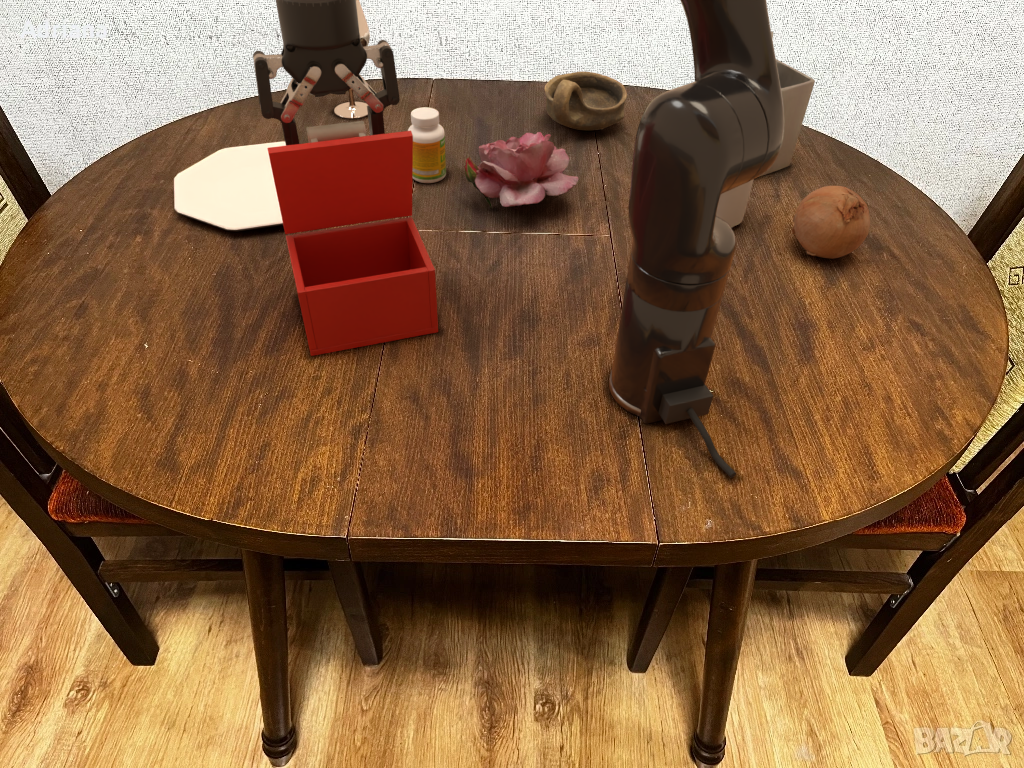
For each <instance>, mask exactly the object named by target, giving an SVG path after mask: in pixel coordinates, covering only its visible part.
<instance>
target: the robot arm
mask: <svg viewBox="0 0 1024 768" xmlns="http://www.w3.org/2000/svg"><path fill="white" fill-rule="evenodd" d="M679 1H680V3H681V5H682V8H683V11H684V15H685V18H686V22H687V26H688V31H689V36H690V43H691V50H692V58H693V71H694V73H693V74H694V81H692V82H690V83H687V84H682V85H680V86H677V87H674V88H672V89H669V90H667V91H664V92H662V93H660V94H658V95H657V96H656V97H654V98H653V99H652V100H651V101H650V102H649V103H648V105H646V108H645V110H644V111H643V114H642V115H641V117H640V120H639V123H638V127H637V129H636V130H637V131H636V134H635V140H634V146H633V154H632V165H631V177H630V187H629V199H628V222H629V223H628V224H629V229H630V232H631V238H632V242H631V249H630V255H629V262H628V269H627V274H626V281H625V285H624V292H623V300H622V304H621V311H620V318H619V323H618V330H617V335H616V342H615V348H614V354H613V360H612V361H613V362H612V367H611V371H610V374H609V380H608V388H609V392H610V394H611V396H612V398H613V400H614V401H615V402H616V403H617V404H618V405H619V406H620V407H621V408H623V409H624V410H625V411H627V412H629V413H630V414H633V415H635V416H638V417H639V418H640V419H641V420H642V422H643V423H644V424H652V423H657V422H660V421H663V422H664V424H665V425H668V424H673V423H676V422H680V421H685V420H689V419H690V420H691V421H692V424H693V425H694V427H695V428H696V429H697V431H698V432H699V435H700V436H701V438H702V440H703V442H704V443H705V447H706V448H707V450H708V453H709V455H710V456H711V458H712V459H713V461H714V462H715V463H716V465H717V466H718V467H720V469H721V470H722V471H723V472H724V473H725V474H726V475H727V476H728V477H729V478H730V479H733V478H734V477H735V476H736V475H737V472H736V471H735V470H734V469H733V468H732V467H731V466H730V465H729V464H728V463H727V462H726V461H725V460H724V459H723V458H722V456H721V455H720V454H719V452H718V450H717V448H716V447H715V444H714V442H713V440H712V438H711V435H710V434H709V432H708V430H707V428H706V427H705V425H704V424H703V422H702V421H701V419H700V418H699V417H702V416H706V415H709V413H710V409H711V407H712V404H713V399H714V394H713V393H712V392H711V391H710V389H709V388H708V386H707V384H706V382H707V378H708V376H709V375H708V374H709V372H710V367H711V364H712V360H713V357H714V353H715V349H716V346H717V345H716V342H715V341H714V340H713V339H712V337H713V333H714V329H715V326H716V323H717V319H718V315H719V311H720V307H721V304H722V299H723V296H724V292H725V290H726V286H727V283H728V278H729V275H730V272H731V268H732V264H733V260H734V257H735V253H736V247H737V237H736V234H735V232H734V230H733V227H732V228H731V227H730V226H729V225H728V223H726V222H725V221H724V220H723V219H721V218H720V217H718V216H716V212H717V207H718V203H719V199H720V195H721V194H723V193H725V192H727V191H729V190H731V189H734V188H736V187H738V186H740V185H742V184H745V183H747V182H749V181H751V180H753V179H754V180H756V179H757V178H759V177H761V176H760V175H762V174H763V173H764V172H766V171H767V170H768V169H769V168H770V167H771V166H772V165H773V163H774V162H775V160H776V158H777V156H778V154H779V152H780V149H781V146H782V142H783V135H784V109H783V100H782V92H781V86H780V80H779V74H778V69H777V63H776V59H777V58H776V52H775V46H774V41H773V39H772V34H771V32H772V29H771V24H770V23H771V22H770V17H769V10H768V4H767V3H768V2H767V0H679ZM275 4H276V5H275V6H276V11H277V16H278V22H279V27H280V33H281V39H282V50H281V53H280V54H265V53H264V52H263V51H262V50H256V51H254V52H253V53H252V54H253V55H252V60H253V61H252V62H253V68H254V74H255V81H256V88H257V95H258V103H259V107H260V108H259V109H260V113H261V116H262V117H263V118H264V119H266V120H270V119H274V120H278V121H279V122H280V124H281V129H282V132H283V133H282V134H283V139H284V142H285V143H286V146H287V145H295V144H300V140H299V132H298V128H297V123H296V119H295V117H296V114H297V113H298V112H299V109H300V108H301V107H303V105H304V104H305V103H306V101H307V99H308V97H309V95H311V96H314V97H315V98H321V97H326V96H328V95H335V96H340V95H347V94H346V93H347V92H348V90H350V89H352V90H353V93H354V94H356V96H358V98H360V99H361V101H364V103H366V104H367V105H368V106H367V111H368V116H367V121H368V130H369V136H370V135H378V134H386V131H385V120H384V111H385V109H386V108H388V107H389V106H397V105H398V104H399V103H400V101H401V98H400V89H399V84H398V78H397V69H396V62H395V61H396V60H395V55H394V51H393V49H392V47H391V45H390V44H389V42H388V41H387V40H385V39H380V40H378V41H377V44H373V45H368V46H365V47H363V45H362V44H361V41H360V34H359V24H358V15H357V6H356V0H275ZM368 60H371V61H372V62H373V65H374V66H375V67H376V68H377V69H380V74H381V80H382V87H383V89H382V90H379V91H378V92H376V91H375V90H374V89H373V88H372V87H371V85H370V84H368V82H367V81H366V79H365V78H364V77H363V76H362V75H361V72H362V70H363V69H364V67H365V65H366V63H367V61H368ZM280 68H283V70H284V71H285V72H286V73H287V74H288V75H289V76H290V77H291V80H290V81H289V83H288V85H287V88H286V91H285V93H284V95H283V96H282V99H281V101H280V102H277V101H273V96H272V95H273V94H272V86H271V80H273V79H275V78H276V77H277V75H278V70H279V69H280Z"/></svg>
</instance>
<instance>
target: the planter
mask: <svg viewBox="0 0 1024 768" xmlns="http://www.w3.org/2000/svg"><path fill="white" fill-rule="evenodd" d="M771 34H772V40H773V39H774V31H771ZM776 63H777V69H778V74H779V80H780V86H781V92H782V100H783V109H784V135H783V142H782V146H781V149H780V152H779V154H778V156H777V158H776V160H775V162H774V163H773V165H772V166H771V167H770V168H769V169H768V170H767V171H766V172H764V173H763V174H762V175H760V176H759V177H762V176H765V175H769V174H771V173H774V172H778V171H781V170H783V169H785V168H787V167H789V166H790V165H791V163H792V158H793V156H794V152H795V148H796V146H797V142H798V139H799V136H800V132H801V129H802V126H803V122H804V120H805V115H806V113H807V109H808V105H809V102H810V99H811V97H812V93H813V89H814V87H815V83H816V79H814V78H812V77H810V76H809V75H807V74H805V73H804V72H802V71H801V70H799V69H796V68H794V67H792V66H791V65H788V64H786V63H785V62H782V61H781V60H779V59H777V58H776Z"/></svg>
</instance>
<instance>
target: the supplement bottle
mask: <svg viewBox="0 0 1024 768" xmlns="http://www.w3.org/2000/svg"><path fill="white" fill-rule="evenodd" d="M410 122H411V125H410V126H409V127H408V128H407V131H411V132H412V135H413V180H414V181H416V182H419V183H422V184H433V183H438V182H440V181H442V180H443V179H445V178H446V175H447V159H446V134H445V129H444V127H443V126H442V125H441V124H440V112H439V111H438V110H437V109H436V108H434V107H427V106H426V107H425V106H423V107H417V108H414V109H413V110H412V111H411V112H410Z"/></svg>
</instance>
